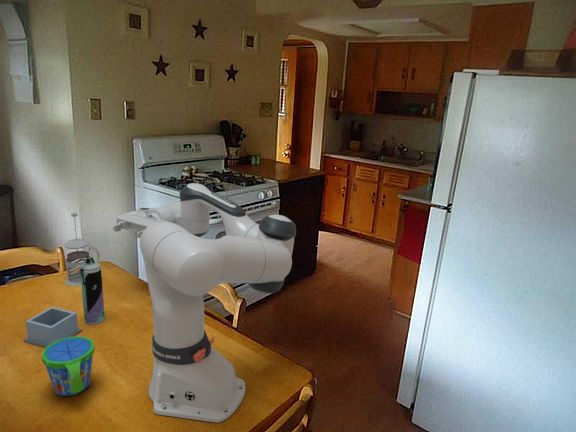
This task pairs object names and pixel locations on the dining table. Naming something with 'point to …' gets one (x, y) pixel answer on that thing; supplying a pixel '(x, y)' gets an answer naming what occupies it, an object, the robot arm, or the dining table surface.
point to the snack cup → (69, 364)
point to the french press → (75, 277)
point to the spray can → (92, 292)
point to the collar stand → (51, 327)
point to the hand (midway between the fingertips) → (125, 232)
